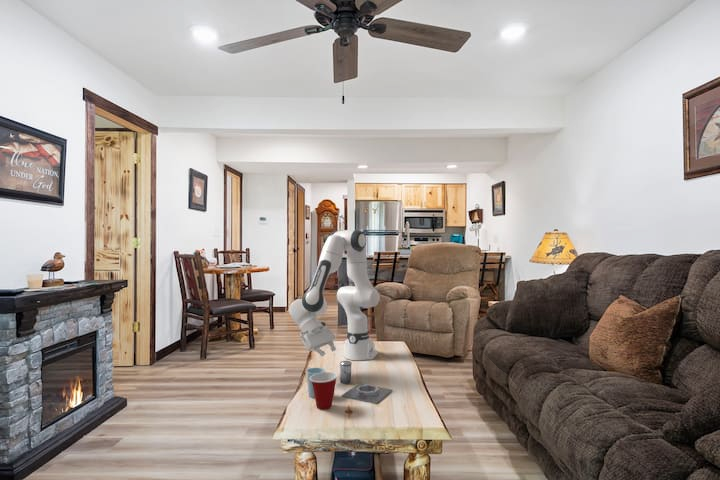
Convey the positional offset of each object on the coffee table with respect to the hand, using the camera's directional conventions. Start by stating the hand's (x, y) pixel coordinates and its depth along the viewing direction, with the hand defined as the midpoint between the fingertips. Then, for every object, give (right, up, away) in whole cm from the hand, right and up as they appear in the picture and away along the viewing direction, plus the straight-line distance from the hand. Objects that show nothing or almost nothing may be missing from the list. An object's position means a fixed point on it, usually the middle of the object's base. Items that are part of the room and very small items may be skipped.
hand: (329, 352), depth 187 cm
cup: (-4, -12, -20) cm, 24 cm away
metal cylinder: (+8, -12, -4) cm, 15 cm away
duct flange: (+17, -12, -18) cm, 28 cm away
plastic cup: (0, -12, -32) cm, 34 cm away
